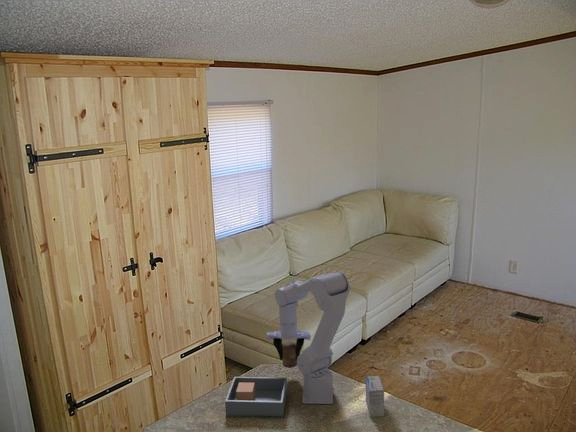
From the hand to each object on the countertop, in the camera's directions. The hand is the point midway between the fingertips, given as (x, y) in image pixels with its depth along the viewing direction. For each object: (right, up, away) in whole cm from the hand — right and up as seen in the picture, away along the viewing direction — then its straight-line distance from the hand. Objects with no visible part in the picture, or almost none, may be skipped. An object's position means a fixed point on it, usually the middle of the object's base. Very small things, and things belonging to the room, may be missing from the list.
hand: (289, 358), depth 156 cm
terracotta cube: (-14, -10, -13) cm, 21 cm away
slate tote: (-10, -10, -13) cm, 19 cm away
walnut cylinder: (0, -2, 0) cm, 2 cm away
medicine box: (+26, -10, -18) cm, 32 cm away
